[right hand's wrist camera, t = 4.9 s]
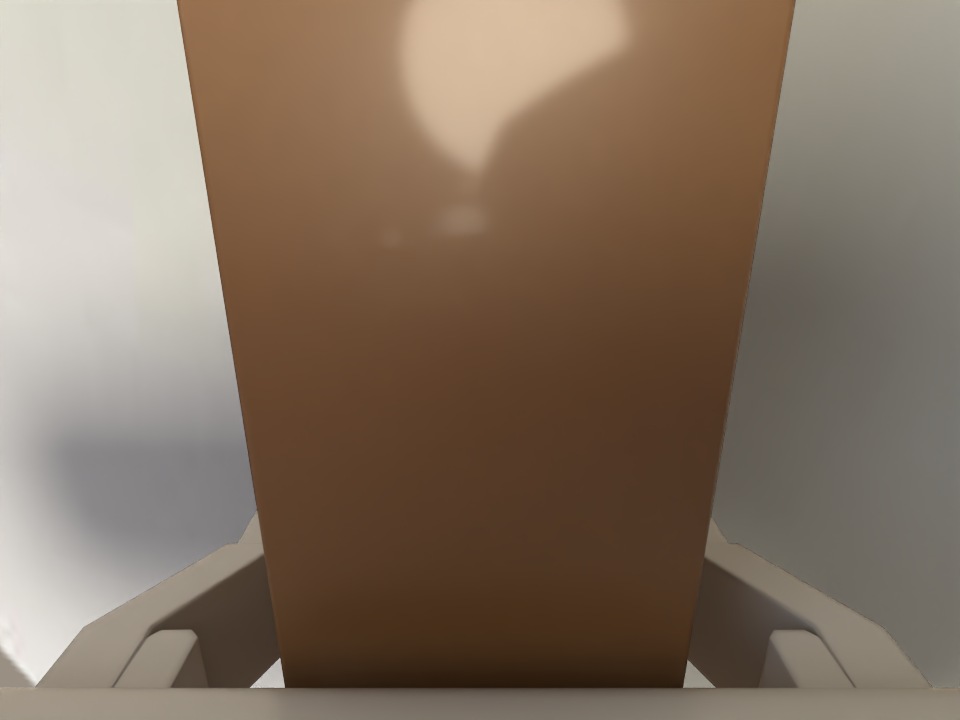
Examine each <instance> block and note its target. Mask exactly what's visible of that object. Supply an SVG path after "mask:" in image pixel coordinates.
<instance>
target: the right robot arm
mask: <svg viewBox="0 0 960 720" xmlns="http://www.w3.org/2000/svg"><path fill="white" fill-rule="evenodd" d="M279 658H280V652H279V645H278V639H277V633H276V626H275V620H274V614H273V607H272V601H271V594H270V588H269V582H268V575H267V569H266V563H265V556H264V550H263V544H262V537H261V531H260V525H259V518H258V512H257V511H256V513H255V515H254V516H253V518H252V520H251V521H250V523H249V525H248V526H247V528H246V530H245V531H244V533H243V535H242V536H241V538H240V540H239V541H238V543H228V544H227V545H225V546H223V547H221V548H220V549H218V550H216V551H214V552H213V553H211V554H209V555H208V556H206V557H204V558H202V559H201V560H199V561H197V562H195V563H194V564H192V565H190V566H189V567H187V568H185V569H183V570H182V571H180V572H178V573H176V574H175V575H173V576H171V577H170V578H168V579H166V580H164V581H163V582H161V583H159V584H157V585H156V586H154V587H152V588H150V589H149V590H147V591H145V592H144V593H142V594H140V595H138V596H137V597H135V598H133V599H131V600H130V601H128V602H126V603H125V604H123V605H121V606H119V607H118V608H116V609H114V610H112V611H111V612H109V613H107V614H106V615H104V616H102V617H100V618H99V619H97V620H95V621H93V622H92V623H90V624H88V625H87V626H85V627H83V629H82V630H81V631H80V632H79V634H78V635H77V636H76V637H75V639H74V640H73V641H72V642H71V643H70V645H69V646H68V647H67V648H66V650H65V651H64V652H63V653H62V655H61V656H60V657H59V658H58V660H57V661H56V662H55V663H54V664H53V666H52V667H51V668H50V669H49V671H48V672H47V673H46V674H45V676H44V677H43V678H42V679H41V681H40V682H39V683H38V684H37V686H36V687H35V688H0V720H960V688H933V687H932V686H931V685H930V683H929V682H928V681H927V680H926V679H925V677H924V676H923V675H922V674H921V672H920V671H919V670H918V669H917V668H916V666H915V665H914V664H913V663H912V661H911V660H910V659H909V658H908V657H907V655H906V654H905V653H904V652H903V650H902V649H901V648H900V647H899V645H898V644H897V643H896V642H895V641H894V639H893V638H892V637H891V636H890V634H889V633H888V632H887V631H886V630H885V628H883V627H882V626H880V625H878V624H876V623H875V622H873V621H871V620H869V619H868V618H866V617H864V616H862V615H861V614H859V613H857V612H855V611H854V610H852V609H850V608H849V607H847V606H845V605H843V604H842V603H840V602H838V601H836V600H835V599H833V598H831V597H829V596H828V595H826V594H824V593H822V592H821V591H819V590H817V589H815V588H814V587H812V586H810V585H809V584H807V583H805V582H803V581H802V580H800V579H798V578H796V577H795V576H793V575H791V574H789V573H788V572H786V571H784V570H782V569H781V568H779V567H777V566H776V565H774V564H772V563H770V562H769V561H767V560H765V559H763V558H762V557H760V556H758V555H756V554H755V553H753V552H751V551H749V550H748V549H746V548H744V547H743V546H741V545H739V544H737V543H728V542H727V541H726V539H725V537H724V536H723V534H722V532H721V531H720V529H719V528H718V526H717V524H716V523H715V521H714V520H713V518H712V516H711V519H710V525H709V531H708V537H707V544H706V550H705V556H704V562H703V568H702V574H701V580H700V586H699V592H698V598H697V604H696V611H695V617H694V623H693V629H692V635H691V641H690V647H689V653H688V660H689V661H690V662H691V663H692V664H693V665H694V666H695V667H696V668H697V669H698V670H699V671H700V672H701V673H702V674H703V675H704V676H705V677H706V678H707V679H708V680H709V681H710V682H711V683H712V684H713V685H714V686H715V687H716V688H250V687H251V686H252V685H253V684H254V683H255V682H256V681H257V680H258V679H259V678H260V677H261V676H262V675H263V674H264V673H265V672H266V671H267V670H268V669H269V668H270V667H271V666H272V665H273V664H274V663H275V662H276V661H277V660H278V659H279Z"/></svg>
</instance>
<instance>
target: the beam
mask: <svg viewBox="0 0 960 720" xmlns="http://www.w3.org/2000/svg"><path fill="white" fill-rule="evenodd" d="M795 1H796V0H177V5H178V11H179V18H180V24H181V30H182V37H183V43H184V49H185V56H186V62H187V68H188V75H189V81H190V87H191V94H192V100H193V106H194V113H195V119H196V125H197V132H198V138H199V144H200V151H201V157H202V163H203V170H204V176H205V182H206V189H207V195H208V201H209V208H210V214H211V220H212V227H213V233H214V239H215V246H216V252H217V259H218V265H219V271H220V278H221V284H222V290H223V297H224V303H225V309H226V316H227V322H228V328H229V335H230V341H231V347H232V354H233V360H234V366H235V373H236V379H237V385H238V392H239V398H240V404H241V411H242V417H243V423H244V430H245V436H246V442H247V449H248V455H249V461H250V468H251V474H252V480H253V487H254V493H255V499H256V506H257V512H258V518H259V525H260V531H261V537H262V544H263V550H264V556H265V563H266V569H267V575H268V582H269V588H270V594H271V601H272V607H273V614H274V620H275V626H276V633H277V639H278V645H279V652H280V658H281V664H282V671H283V677H284V683H285V688H683V684H684V678H685V672H686V665H687V659H688V653H689V647H690V641H691V635H692V629H693V623H694V617H695V611H696V604H697V598H698V592H699V586H700V580H701V574H702V568H703V562H704V556H705V550H706V544H707V537H708V531H709V525H710V519H711V513H712V507H713V501H714V495H715V489H716V483H717V476H718V470H719V464H720V458H721V452H722V446H723V440H724V434H725V428H726V422H727V416H728V409H729V403H730V397H731V391H732V385H733V379H734V373H735V367H736V361H737V355H738V348H739V342H740V336H741V330H742V324H743V318H744V312H745V306H746V300H747V294H748V288H749V281H750V275H751V269H752V263H753V257H754V251H755V245H756V239H757V233H758V227H759V220H760V214H761V208H762V202H763V196H764V190H765V184H766V178H767V172H768V166H769V160H770V153H771V147H772V141H773V135H774V129H775V123H776V117H777V111H778V105H779V99H780V92H781V86H782V80H783V74H784V68H785V62H786V56H787V50H788V44H789V38H790V32H791V25H792V19H793V13H794V7H795Z"/></svg>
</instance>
